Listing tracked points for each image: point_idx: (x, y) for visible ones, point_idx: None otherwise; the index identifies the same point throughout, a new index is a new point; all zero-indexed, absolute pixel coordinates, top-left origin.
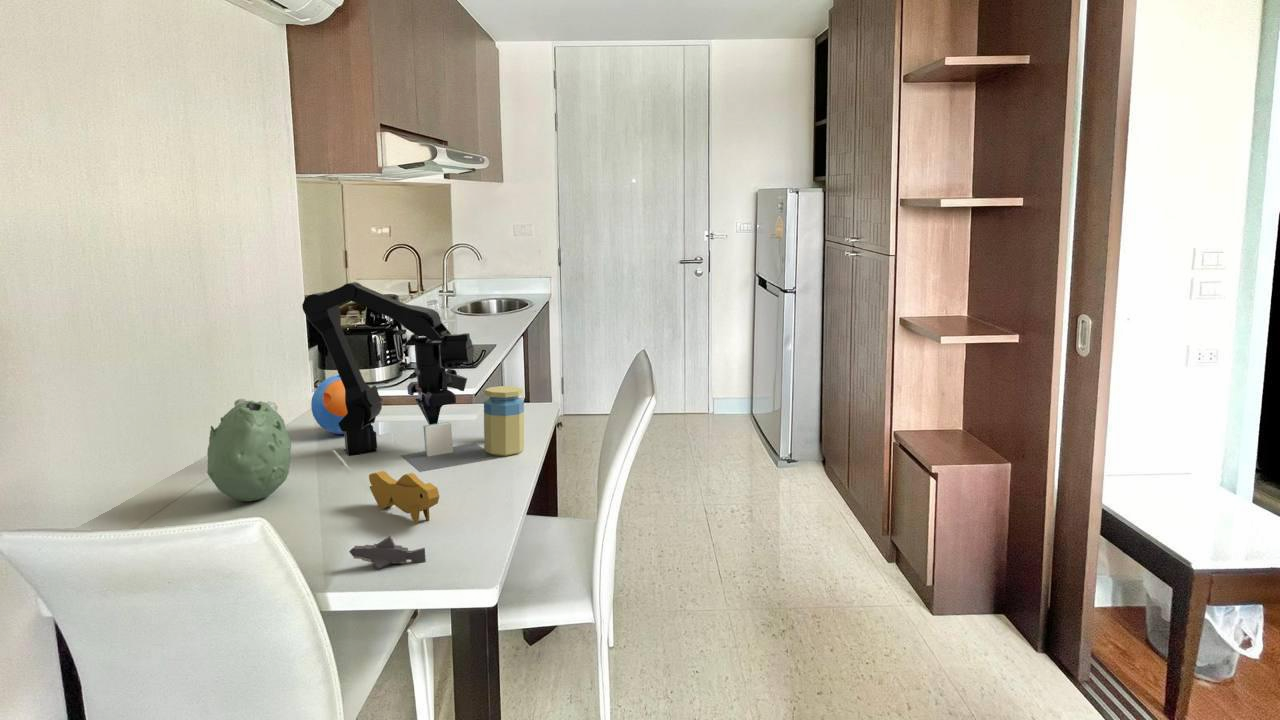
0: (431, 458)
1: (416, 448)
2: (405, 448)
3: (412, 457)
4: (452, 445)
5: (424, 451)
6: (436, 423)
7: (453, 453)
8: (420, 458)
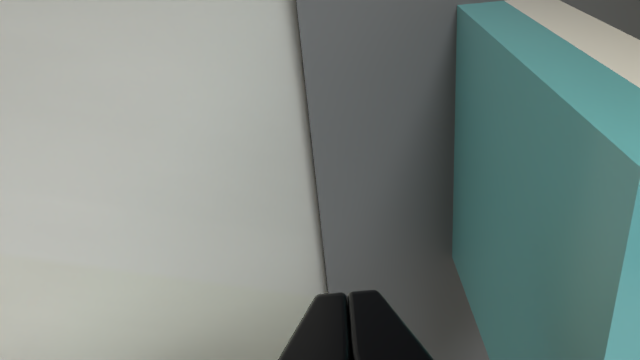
0: None
1: (113, 267)
2: (76, 337)
3: (467, 351)
4: (588, 15)
5: (328, 246)
6: (416, 351)
7: (609, 3)
8: None
